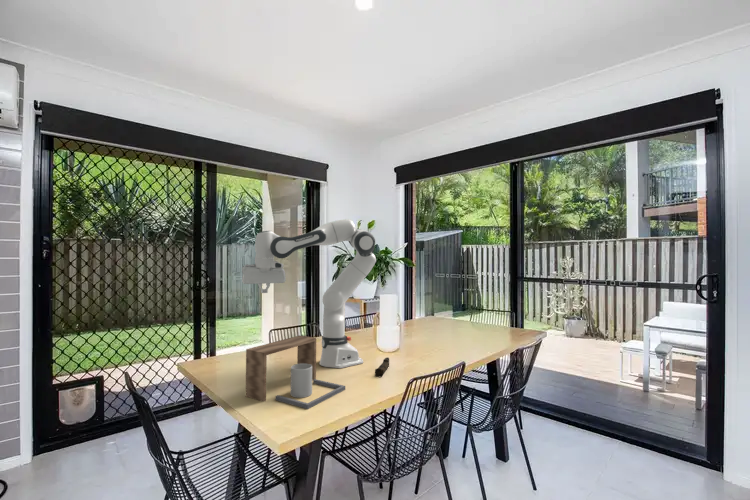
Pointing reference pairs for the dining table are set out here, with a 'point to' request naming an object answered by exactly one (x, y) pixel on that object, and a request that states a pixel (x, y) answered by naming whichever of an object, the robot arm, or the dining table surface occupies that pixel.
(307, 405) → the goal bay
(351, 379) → the dining table surface
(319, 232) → the robot arm
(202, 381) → the dining table surface
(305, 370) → the mug
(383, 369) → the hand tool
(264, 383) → the wooden bridge arch
